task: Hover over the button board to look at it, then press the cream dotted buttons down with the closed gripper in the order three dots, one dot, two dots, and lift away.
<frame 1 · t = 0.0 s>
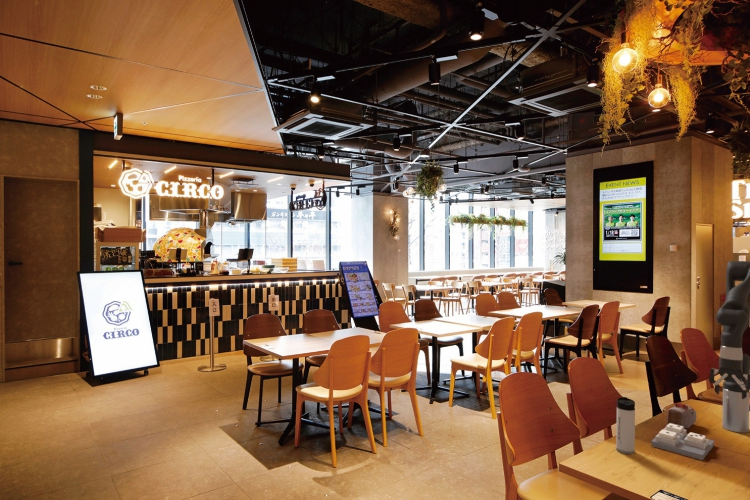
hand: (730, 396, 195), 17 cm above the table, tool pointing down, fingers open, 8 cm apart
button three: (696, 438, 183), point 4 cm above the table, slide at 0.0 cm
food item: (681, 426, 208), on the table
travel mug: (625, 451, 181), on the table
button board: (682, 445, 186), on the table
button one: (667, 435, 186), point 4 cm above the table, slide at 0.0 cm
button two: (674, 428, 193), point 4 cm above the table, slide at 0.0 cm
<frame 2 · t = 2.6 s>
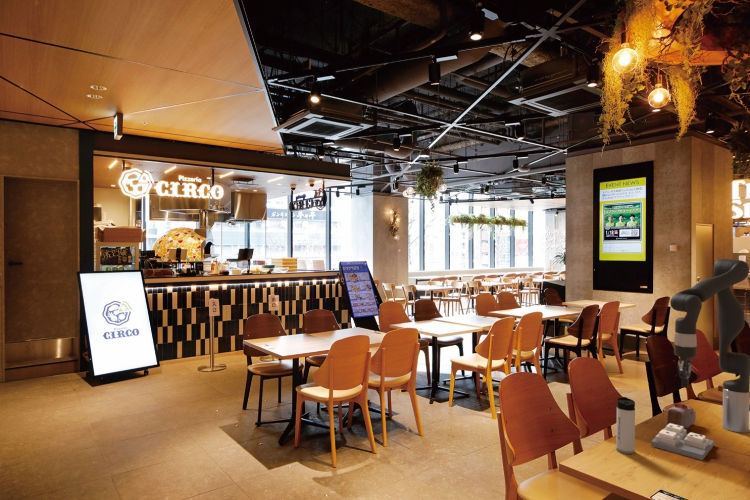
hand: (684, 387, 188), 23 cm above the table, tool pointing down, fingers closed
nothing on the table moved.
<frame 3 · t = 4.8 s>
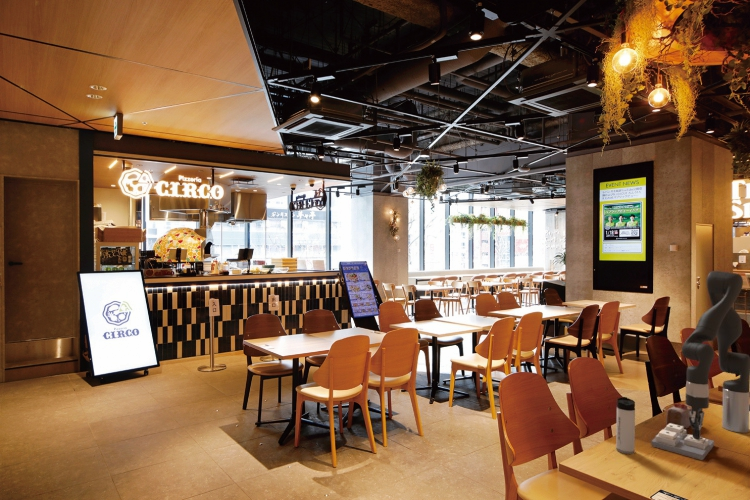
hand: (696, 438, 183), 5 cm above the table, tool pointing down, fingers closed
button three: (696, 440, 183), point 4 cm above the table, slide at 1.0 cm, touching gripper
everything else where it was.
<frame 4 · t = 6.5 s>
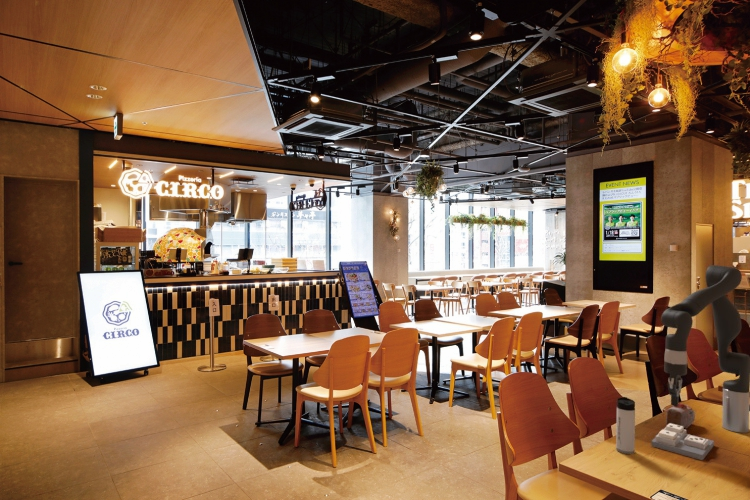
hand: (674, 405, 184), 17 cm above the table, tool pointing down, fingers closed
button three: (696, 441, 183), point 3 cm above the table, slide at 1.3 cm
everything else where it was.
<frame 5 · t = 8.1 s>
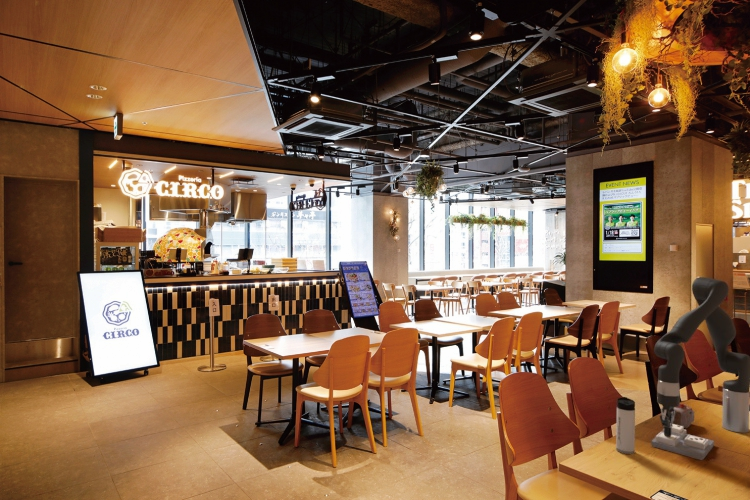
hand: (667, 435, 185), 4 cm above the table, tool pointing down, fingers closed
button one: (667, 438, 186), point 3 cm above the table, slide at 1.3 cm, touching gripper
everything else where it was.
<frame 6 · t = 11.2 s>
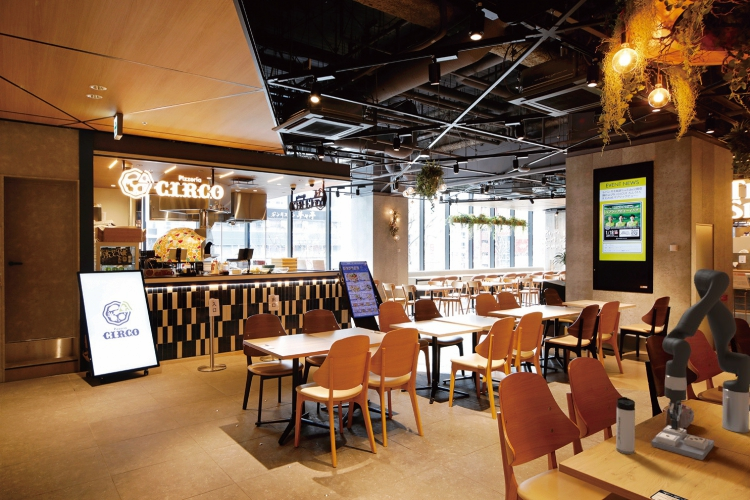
hand: (674, 428, 192), 5 cm above the table, tool pointing down, fingers closed
button one: (667, 438, 186), point 3 cm above the table, slide at 1.3 cm
button two: (674, 431, 193), point 3 cm above the table, slide at 1.1 cm, touching gripper
everything else where it was.
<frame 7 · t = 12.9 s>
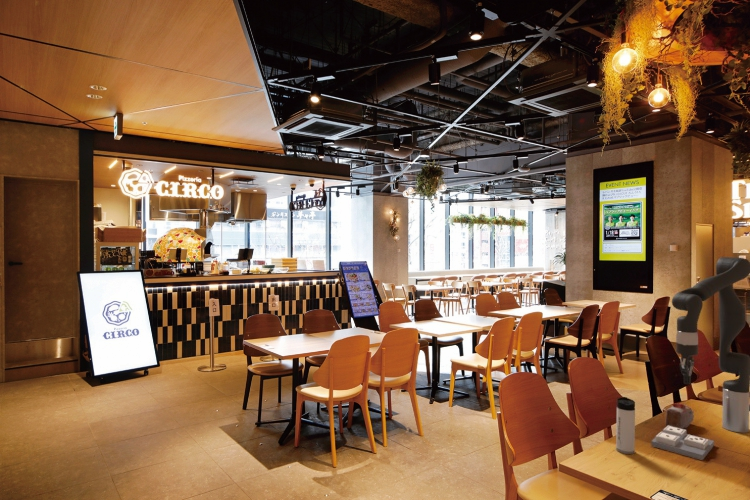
hand: (687, 383, 193), 23 cm above the table, tool pointing down, fingers closed
button two: (674, 431, 193), point 3 cm above the table, slide at 1.3 cm
everything else where it was.
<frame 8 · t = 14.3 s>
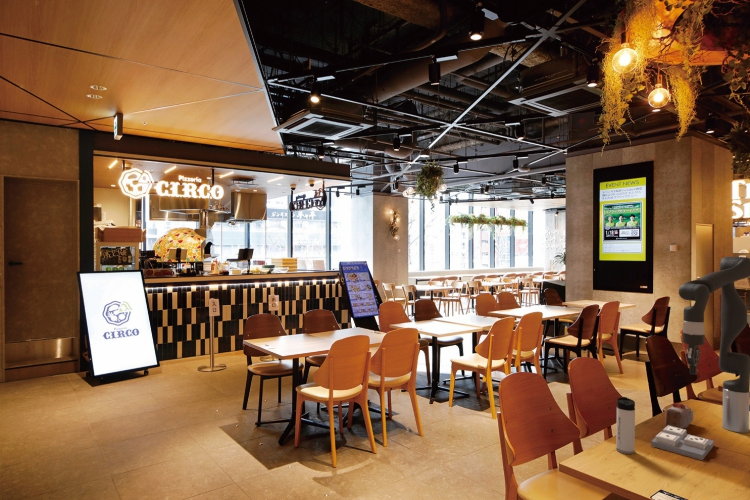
hand: (692, 374, 192), 27 cm above the table, tool pointing down, fingers closed
nothing on the table moved.
at the end: button three slide at 1.3 cm; button one slide at 1.3 cm; button two slide at 1.3 cm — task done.
